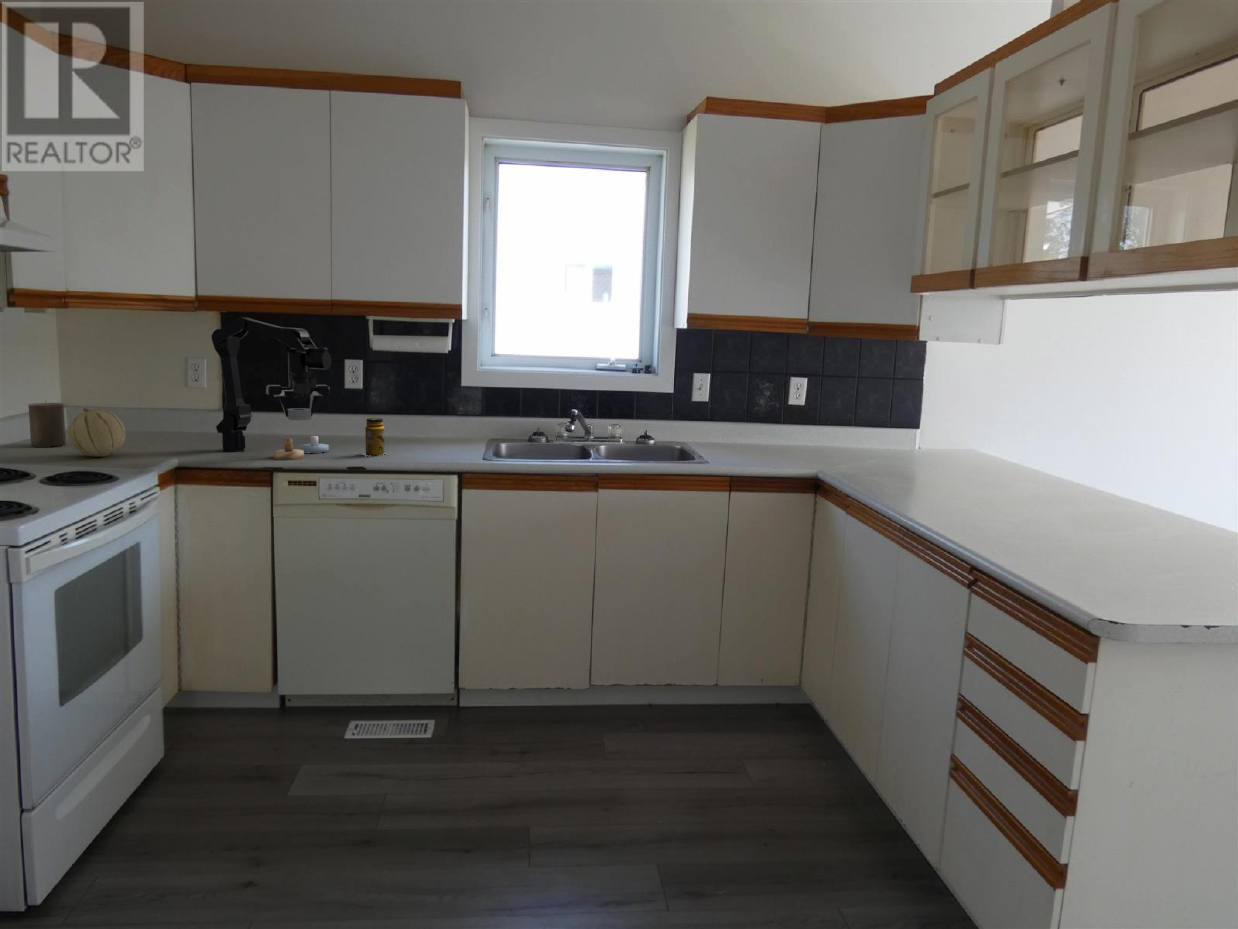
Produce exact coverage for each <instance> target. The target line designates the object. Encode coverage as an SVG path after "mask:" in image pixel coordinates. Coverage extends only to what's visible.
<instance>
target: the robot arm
mask: <svg viewBox="0 0 1238 929" xmlns="http://www.w3.org/2000/svg"><path fill="white" fill-rule="evenodd" d="M249 332H250V333H253V334H254V333H255V334H258V335H262V336H265V337H268V338H273V339H276V340H277V341H279V342H280V343H282V344H284V345H286V346H285V348H283V349H282V350H281V354H287V364H288V365H287V366H288V367H287V368H288V370H287V371H288V373H287V374H288V386H282V385H280V384H267V386H265V388H266V390H265V391H266V392H265V394H266V395H268V396H273V397H274V398H276V399H278V401H279V403H280V404H281V407H282V409H283V412H284V415H285V417H286V418H287V417H288V410H287V409H288V402H287V395H285V394H290V393H292V394H294V393H295V394H300V393H304V394H310V393H311V394H310V398H309V409H311V418H312V417H313V414H314V411H315V409H316V405H317V403H318V401H319V399H320V398H323V397H324V395H329V396H330V395H331V389H330V388H331V387H330V386H328V385H327V384H317V378H316V377H314V376H312V377H311V376H310V377H308V368H309V369H310V370H312V369H313V370H329V369H330V368H331V367H332V357H331V354H330V352H329V350H328V347H317V346H316V345H315V343H314V342H313V341H312V339H311V336H310V333H309V332H308V330H307V329H305V328H302V327H301V328H299V327H283V326H278V325H276V324H271V323H269V322H268V323H267V322H263V321H260V320H256V319H252V318H251V317H238V318H237V319H235V320H234V321H233V322H230V323H228V324H226V325H224V326H222V327H221V328H217V329H215V330H214V331H213V332H212V333H211V336H210V337H211V342H212V346H213V348H214V351H215V352H216V353H217V354H218V356H219V357H220V364H221V372H222V373H221V374H222V379H223V386H224V392H225V394H224V395H225V404H224V407H223V409H222V410H223V411H222V412H223V413H222V420H220V422H219V423H218V424H217V425H216V426H215V429H216V431H217V433H218V434H220V436H221V439H220V440H221V447H220V450H221V451H222V452H224V453H227V452H245V451H246V450H245V449H246V436H245V435H244V432H245V431H247V428H248V425H249V424H250V423H251V421H252V417H253V414H252V410H251V409H252V408H251V404H246V403H245V401H244V400H243V394H242V387H241V385H242V384H241V379H240V378H241V377H240V373H239V372H240V371H239V366H238V365H239V364H238V359H237V358H238V357H237V356H238V353H239V350H240V345H241V343H240V342H241V339H243V338H244V337H245V336H246V335H247V334H248V333H249ZM243 431H244V432H243Z"/></svg>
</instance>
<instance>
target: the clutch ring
mask: <svg viewBox="0 0 1238 929" xmlns="http://www.w3.org/2000/svg"><path fill="white" fill-rule="evenodd" d="M287 410H288V417H286V420H291V421H307V420H312V417H311V409H310V408H305V407H304V408H303V407H302V408H300V407H299V408H295V407H294V408H287Z"/></svg>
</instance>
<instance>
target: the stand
mask: <svg viewBox="0 0 1238 929" xmlns="http://www.w3.org/2000/svg"><path fill="white" fill-rule="evenodd" d="M283 441H284V444H283V445H284V449H276V450H273V459H274V460H283V461H284V460H285V461H286V460H287V461H288V460H301V459H303V458H302V457H305V456H304V455H305V453H304V451H303V450H300V449H297V448H294V447H293V446H294V445H293V438H292V437H291V438H290V437H285V438H284V439H283Z"/></svg>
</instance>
